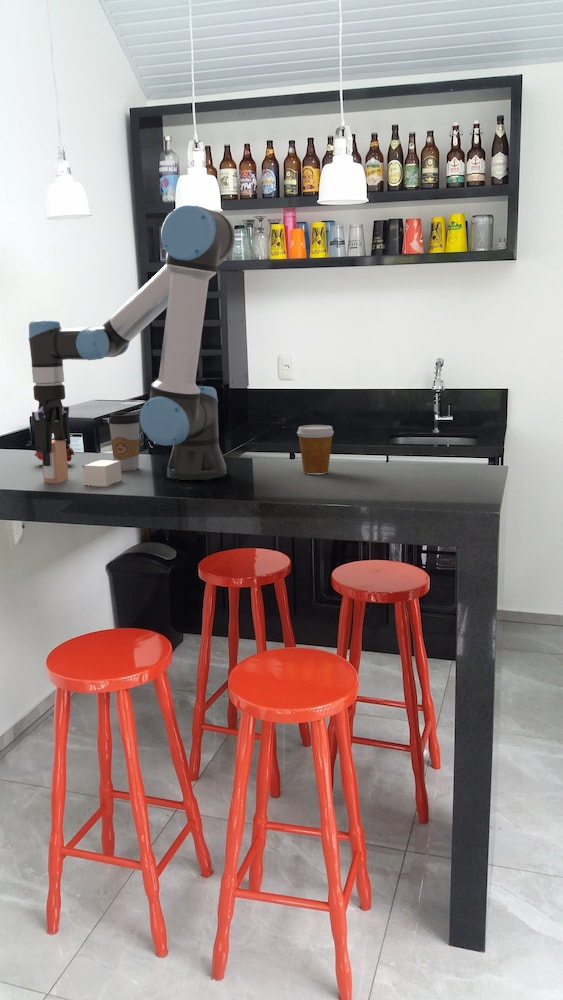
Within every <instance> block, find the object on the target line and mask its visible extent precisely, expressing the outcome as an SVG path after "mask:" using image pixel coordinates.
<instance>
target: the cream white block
mask: <svg viewBox="0 0 563 1000" xmlns="http://www.w3.org/2000/svg"><path fill="white" fill-rule="evenodd" d="M82 471H83V485H88V486H87V487H90V485H91V487H109V486H111V485H113V483H114V484H115V482H116V483H118V482H121V481H122V471H121V465H120V461H114V460H113V459H112V460H110V459H109V460H108V459H98V460H94V461H92V462H88V463H85V464H83V465H82ZM120 480H121V481H120ZM110 484H111V485H110ZM108 485H109V486H108Z"/></svg>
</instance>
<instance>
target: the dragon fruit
mask: <svg viewBox="0 0 563 1000" xmlns="http://www.w3.org/2000/svg"><path fill="white" fill-rule="evenodd" d="M52 440H55V438H54V437H52ZM35 451H36V450H35ZM66 453H67V463H68V462H71V461H72V458H73V456H75V451H74V449H73V448H72V447H69V448H66ZM34 456H35V457H37V458H38V460H40V461H42V453H38V452H37V451H36V452H35V453H34Z"/></svg>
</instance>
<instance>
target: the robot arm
mask: <svg viewBox="0 0 563 1000" xmlns="http://www.w3.org/2000/svg"><path fill="white" fill-rule="evenodd" d="M160 234H161V235H160V236H161V242H162V245H163V248H164V249H165V251H166V259H165V264H164V266H163V267H162V268H161V269H160V270H158V272H157V273H156V274H155V275H154V276H152V277H151V279H149V280H148V281H147V282H146V283H145V284H144V285H143V286H142V287H141V288H140V289H138V291H137V292H136V293H135V294H133V296H131V297H130V299H128V300H127V301H126V302H125V303H124V304H123V305H122V306H121V307H120V308H119V309H118V310H117V311H116V312H115V313H113V314H112V315H111V316H110V318H109V319H108V320H106V322H104V324H103V325H101V326H100V327H74V328H71V327H70V328H63V327H61V323H60V322H59V320H32V321H31V322H29V324H28V341H29V349H30V350H29V351H30V359H31V374H32V383H34V386H33V389H32V390H33V399H34V400H35V401H38V406H37V407H38V408H37V409H38V410H37V411H32V412H31V417H32V420H33V431H34V442H35V445H34V446H35V451H37V452H38V453H42V459H43V463H42V469H43V468H44V476H43V479H44V478H47V479H55V467H54V454H53V453H51V446H52V439H53V438H55V440H63V441H66V448H69V447H70V446H71V431H70V418H69V413H70V412H69V411H70V408H69V406H65V405H63V403H62V400H65V399H66V388H65V385H64V384H63V383H64V382H65V372H64V363H63V361H64V360H65V361H66V360H74V361H75V360H77V361H79V360H80V361H82V360H83V361H84V360H85V361H96V360H103V359H104V358H116V357H118V356H121V355H123V354H124V353H126V352H127V350H128V348H129V345H130V342H131V341H132V340H133V339H134V338H135V337H137V336H138V335H139V334H140V332H142V331H143V330H144V329H145V328H146V327H147V326H148V325H149V324H151V323H152V322H153V321H154V320H155V319H156V318H157V317H158V316H159V315H160V314H161V313H162V312H164V311H165V309H166V315H165V324H164V325H165V326H164V332H163V338H162V339H163V341H162V348H161V356H160V366H159V373H158V378H157V379H156V380H155V381H153V382H152V383H151V385H150V386H151V387H150V392H149V393H150V394H149V399H148V400H147V401H146V402H145V403H144V404H143V405H142V407H141V410H140V414H139V421H140V422H139V424H140V427H141V429H142V432H143V433H144V434H145V436H146V437H148V439H149V440H150V441H152V442H153V443H154V444H157V445H160V446H172V450H171V454H170V459H169V461H168V464H167V471H166V472H167V478H168V477H169V478H168V479H170V478H172V479H171V480H173V479H181V480H184V479H185V480H191V479H192V480H193V479H208V478H215V477H220V476H223V475H225V474H227V465H226V462H225V459H224V456H223V453H222V451H221V449H220V448H221V447H220V445H219V444H220V443H219V442H220V441H219V440H220V439H219V410H218V409H219V407H218V405H219V404H218V403H219V399H218V394H217V393H218V392H217V390H216V388H215V387H212V386H205V385H204V386H203V385H201V386H200V385H197V384H196V381H197V380H196V378H197V372H198V364H199V357H200V350H201V342H202V341H201V340H202V333H203V325H204V319H205V312H206V306H207V305H206V303H207V296H208V288H209V280H211V279H212V278H213V277H214V276H216V274H217V272H218V267H219V266H220V265H221V264H222V263H223V262H225V260H226V259H227V258H228V257H229V256H230V254H231V253H232V251H233V248H234V245H235V238H236V237H235V230H234V227H233V225H232V224H231V221H230V220H229V219H228V218H227V217H226V216H225V215H223V214H222V213H220V212H217V211H216V210H210V209H207V208H205V207H202V206H198V205H183V206H179V207H177V208H175V209H173V210H172V211H171V212H169V213H168V214H167V216H166V217H165V220H164V222H163V223H162V226H161V233H160ZM70 448H71V447H70Z"/></svg>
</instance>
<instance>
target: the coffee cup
mask: <svg viewBox="0 0 563 1000" xmlns="http://www.w3.org/2000/svg"><path fill="white" fill-rule="evenodd" d="M108 425H109V431H110V442H111V449H112V456H113V461H120V465H121V472H128V471H129V472H130V470H131V471H136V470H137V469H139V468H138V467H140V461H139V460H140V459H139V457H140V416H138V412H131V411H130V412H127V411H126V412H125V411H124V412H113V413H110V414H109V417H108Z"/></svg>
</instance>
